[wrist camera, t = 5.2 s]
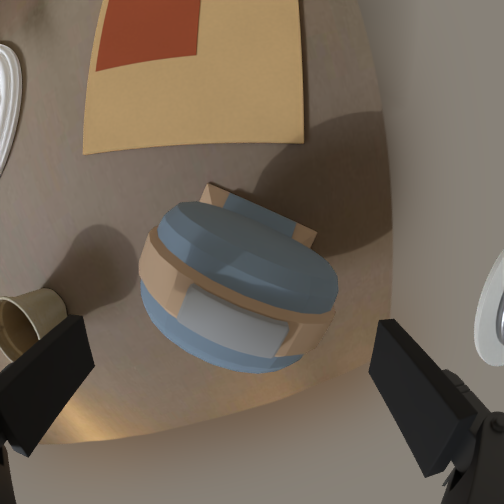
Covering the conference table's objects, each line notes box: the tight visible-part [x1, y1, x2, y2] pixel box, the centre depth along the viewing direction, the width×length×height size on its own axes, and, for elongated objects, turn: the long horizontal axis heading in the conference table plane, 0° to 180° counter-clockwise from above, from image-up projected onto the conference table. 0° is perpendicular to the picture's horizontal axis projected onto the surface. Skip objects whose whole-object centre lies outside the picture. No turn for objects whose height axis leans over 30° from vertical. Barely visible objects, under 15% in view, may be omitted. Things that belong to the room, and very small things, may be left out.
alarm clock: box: [139, 183, 338, 374], centre depth 23 cm, size 14×10×18 cm
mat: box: [83, 0, 304, 155], centre depth 26 cm, size 24×22×1 cm
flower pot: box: [0, 288, 67, 362], centre depth 29 cm, size 9×9×9 cm
